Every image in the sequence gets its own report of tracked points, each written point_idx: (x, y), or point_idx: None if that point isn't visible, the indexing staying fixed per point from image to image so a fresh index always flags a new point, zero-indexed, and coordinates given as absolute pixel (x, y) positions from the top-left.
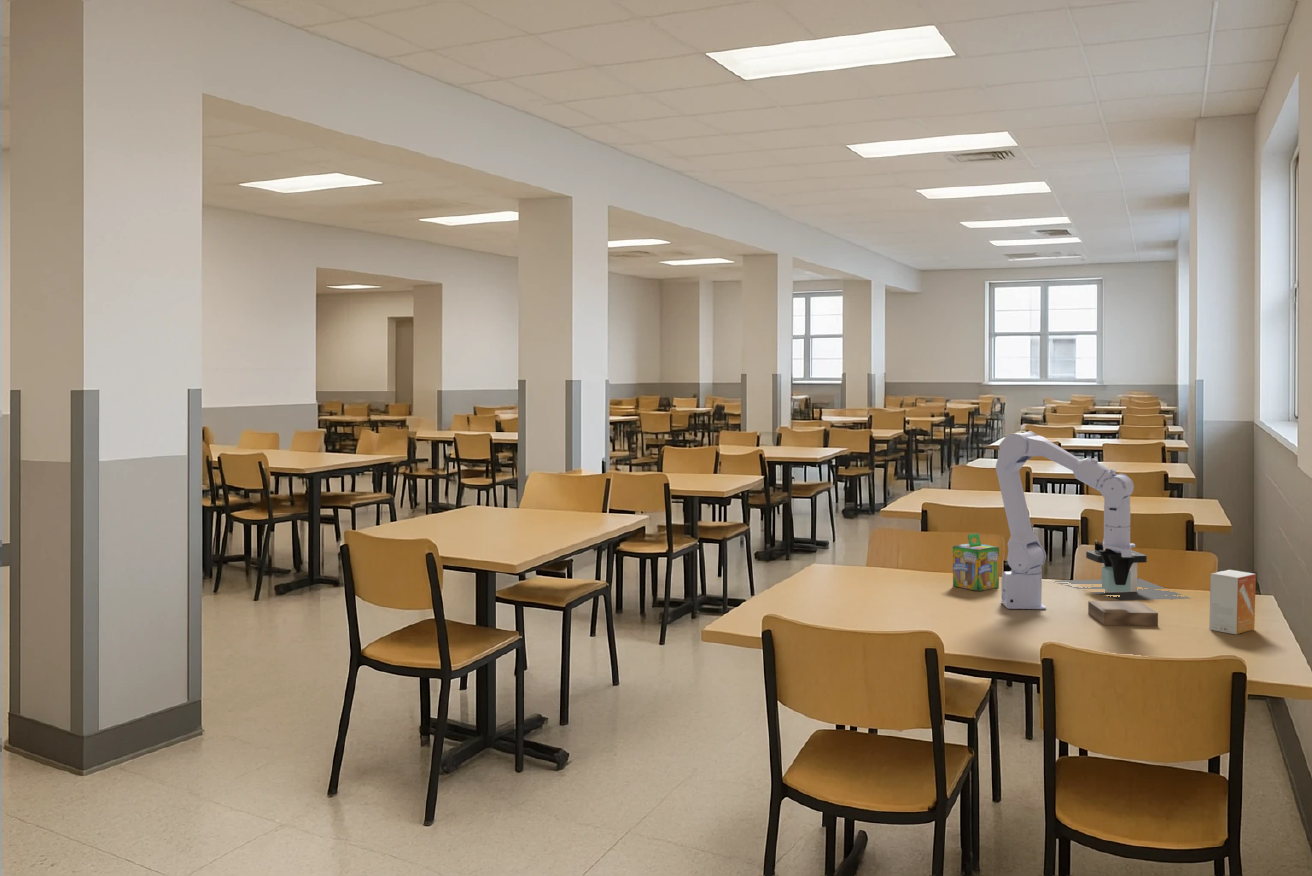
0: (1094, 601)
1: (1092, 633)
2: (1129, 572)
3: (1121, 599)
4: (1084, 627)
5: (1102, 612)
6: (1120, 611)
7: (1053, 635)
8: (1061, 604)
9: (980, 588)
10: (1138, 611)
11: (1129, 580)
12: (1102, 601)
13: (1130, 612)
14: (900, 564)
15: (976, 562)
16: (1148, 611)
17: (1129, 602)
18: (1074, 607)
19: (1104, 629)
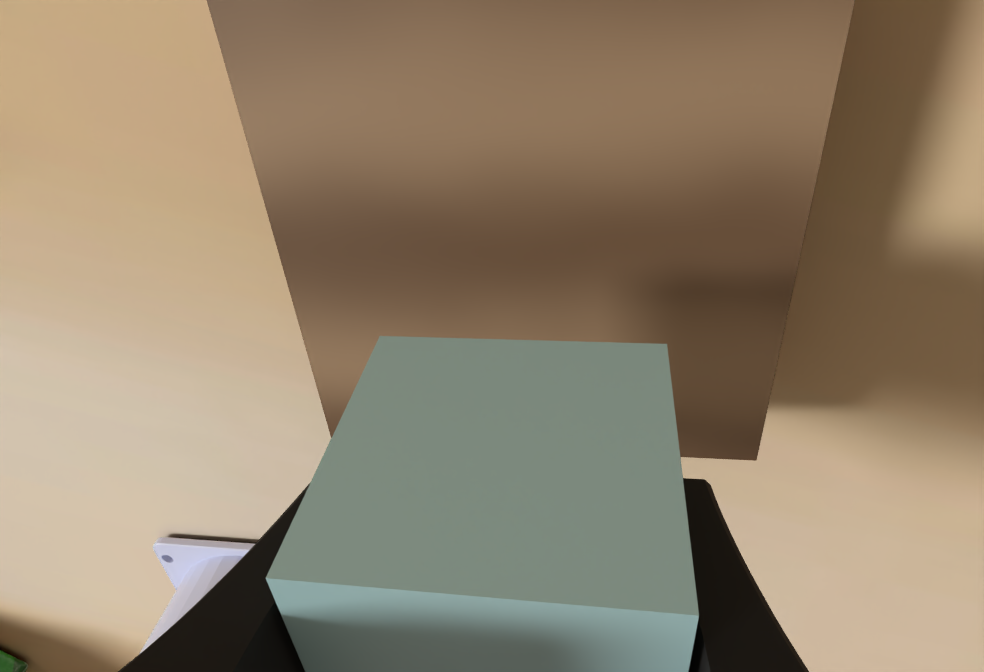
0: (338, 408)
1: (963, 510)
2: (689, 594)
3: None
4: (786, 503)
5: (710, 451)
6: (732, 337)
7: (949, 665)
8: (144, 444)
9: (8, 668)
10: (749, 174)
11: (677, 471)
12: (320, 354)
13: (785, 266)
14: None
15: None
16: (764, 57)
17: (295, 130)
18: (203, 403)
19: (867, 420)
